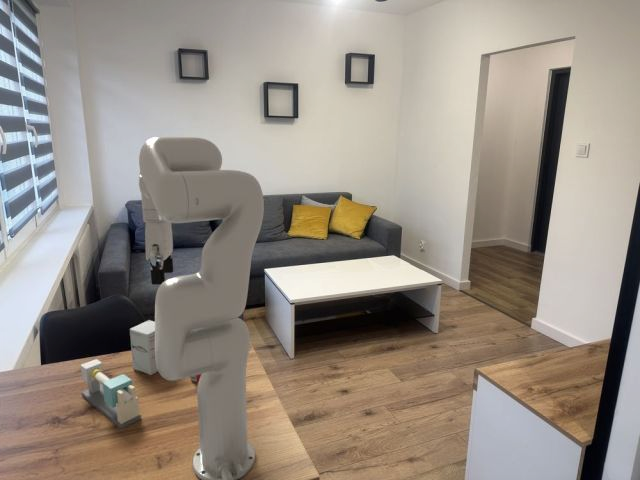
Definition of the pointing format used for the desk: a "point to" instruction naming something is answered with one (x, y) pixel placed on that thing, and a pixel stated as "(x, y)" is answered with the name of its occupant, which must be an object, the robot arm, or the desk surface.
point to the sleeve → (115, 388)
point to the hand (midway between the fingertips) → (163, 278)
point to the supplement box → (144, 347)
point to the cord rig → (93, 375)
